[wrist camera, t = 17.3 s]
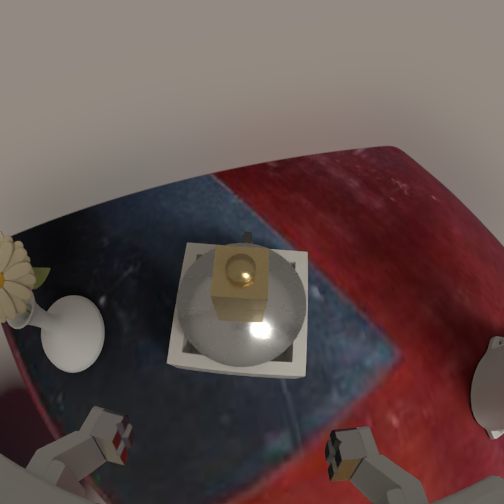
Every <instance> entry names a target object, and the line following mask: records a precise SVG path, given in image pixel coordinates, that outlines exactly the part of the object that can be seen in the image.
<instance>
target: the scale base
mask: <svg viewBox="0 0 504 504" xmlns="http://www.w3.org/2000/svg"><path fill="white" fill-rule="evenodd" d="M218 246H223V245H218ZM214 248H216V245H214V244H201V243H188V242H187V246H186V251H185V256H184V261H183V266H182V271H181V277H180V282H179V286H180V283H181V280H182V278H183V277H184V275H185V273H186V271H187V270H188V269H189V267H190V266H191V265H192V264H193V263H194V262H195V261H196V260H197V259H198V258H199V257H201V256H202V255H203V254H205V253H207V252H208V251H210V250H212V249H214ZM271 250H273V251H274V252H276V253H278V254H279V255H281V256H282V257H283V258H285V259H286V260H287V261H288V262H289V263H290V264H291V265H292V266H293V268H294V269H295V270H296V272H297V273H298V275H299V277H300V279H301V281H302V283H303V286H304V289H305V294H306V305H307V306H306V315H305V319H304V323H303V326H302V328H301V330H300V332H299V334H298V336H297V337H296V339H295V340H294V341H293V343H292V344H291V345H290V346H289V347H288V348H287V349H286V350H285V351H284V352H283V353H282V354H280V355H279V356H278V357H276V358H274V359H272V360H271V361H268V362H266V363H263V364H260V365H256V366H251V367H232V366H226V365H223V364H220V363H217V362H215V361H213V360H211V359H209V358H207V357H206V356H204V355H203V354H201V353H200V352H199V351H198V350H197V349H196V348H195V347H194V346H193V345H192V344H191V343H190V342H189V341H188V339H187V338H186V336H185V335H184V333H183V331H182V329H181V326H180V323H179V320H178V316H177V308H176V306H175V312H174V318H173V324H172V331H171V337H170V344H169V352H168V359H167V364H170V365H172V366H175V367H177V368H182V369H188V370H196V371H203V372H212V373H220V374H230V375H241V376H254V377H269V378H291V379H297V378H300V377H304V376H305V373H306V349H307V310H308V252H302V251H289V250H277V249H271ZM178 289H179V288H178ZM176 301H177V300H176Z"/></svg>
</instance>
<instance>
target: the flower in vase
mask: <svg viewBox="0 0 504 504" xmlns="http://www.w3.org/2000/svg"><path fill="white" fill-rule="evenodd" d="M49 271H50V268H36V267H32V266H31V264H30V258H29V257H28V256H27V251H26V250H25V249H24V248H23V243H22V242H20V241H16V242H15V243H13V239H12V237H11V236H5V237H4V236H3V233H2V232H1V231H0V322H1V323H4V322H5V321H6V319H7V322H8V323H9V325H10V326H11V327H12V328H15V329H20V328H23V327H24V326H26V325H34V326H37V327H40V328H42V329H41V340H42V345H43V348H44V351H45V353H46V355H47V357H48V358H49V360H50V361H51V362H52V363H53V364H54V365H55V366H56V367H58V368H59V369H61V370H63V371H66V372H71V373H74V372H80V371H83V370H85V369H87V368H88V367H90V366H91V365H92V364H93V363H94V362H95V360H96V359H97V357H98V356H99V354H100V352H101V349H102V347H103V343H104V336H105V329H104V322H103V318H102V315H101V313H100V311H99V310H98V308H97V307H96V305H95V304H94V303H93V302H92V301H90V300H89V299H87V298H85V297H82V296H77V295H72V296H65V297H63V298H61V299H59V300H57V301H56V302H55V303H54V304H53V305H52V306H51V307H50V308H49V310H48V311H47V312H46V311H45V310H43V309H42V308H41V307H39V306H38V304H37V303H36V302H35V299H34V295H33V292H32V291H31V290H32V289H37V288H38V287H40V286H41V285H42V284H43V282H44V281H45V279H46V278H47V276H48V274H49Z"/></svg>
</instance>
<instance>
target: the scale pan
mask: <svg viewBox="0 0 504 504" xmlns="http://www.w3.org/2000/svg"><path fill="white" fill-rule="evenodd" d="M251 241H252V235H251V232H245V234H244V235H243V243H233V244H227V245H223V246H237V247H256V248H266V247H263V246H260V245H256V244H252V243H251ZM215 249H216V248H214V249H212V250H210V251H208V252H207V253H205V254H203V255H202V256H201V257H199V258H198V259H197V260H196V261H195V262H194V263H193V264H192V265H191V266H190V267H189V269H188V270H187V271H186V273H185V275H184V277H183V278H182V280H181V283H180V286H179V289H178V293H177V301H176V308H177V316H178V320H179V323H180V326H181V329H182V331H183V333H184V335H185V336H186V338H187V339H188V341H189V342H190V343H191V344H192V345H193V346H194V347H195V348H196V349H197V350H198V351H199V352H200V353H201V354H203V355H204V356H206V357H207V358H209V359H211V360H213V361H215V362H217V363H220V364H223V365H226V366H232V367H251V366H256V365H260V364H263V363H266V362H268V361H271V360H272V359H274V358H276V357H278V356H279V355H280V354H282V353H283V352H284V351H285V350H286V349H287V348H288V347H289V346H290V345H291V344H292V343H293V341H294V340H295V339H296V337H297V336H298V334H299V332H300V330H301V328H302V326H303V323H304V319H305V315H306V306H307V305H306V294H305V289H304V286H303V283H302V281H301V279H300V277H299V275H298V273H297V272H296V270H295V269H294V268H293V266H292V265H291V264H290V263H289V262H288V261H287V260H286V259H285V258H283V257H282V256H281V255H279V254H278V253H276V252H274V251H273V250H271V249H269V278H268V301H267V305H266V309H265V313H264V317H263V321H262V323H254V322H235V321H220V320H218V317H217V314H216V311H215V308H214V305H213V302H212V299H211V296H210V295H211V285H212V276H213V267H214V258H215Z"/></svg>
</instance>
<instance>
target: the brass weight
mask: <svg viewBox="0 0 504 504" xmlns="http://www.w3.org/2000/svg"><path fill="white" fill-rule="evenodd" d="M268 278H269V248H256V247H237V246H218V245H216V249H215V258H214V267H213V276H212V285H211V295H210V296H211V299H212V302H213V305H214V308H215V311H216V314H217V317H218V320H220V321H235V322H254V323H262V321H263V317H264V313H265V309H266V305H267V301H268Z"/></svg>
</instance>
